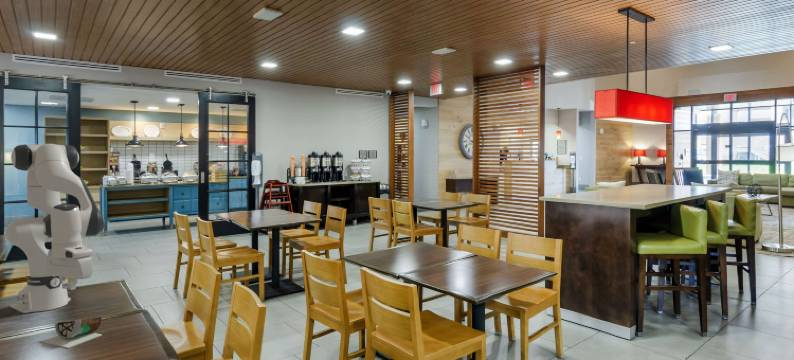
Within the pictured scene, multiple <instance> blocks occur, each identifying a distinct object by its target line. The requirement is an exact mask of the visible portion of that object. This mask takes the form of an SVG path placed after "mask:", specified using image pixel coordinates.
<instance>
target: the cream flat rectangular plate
mask: <svg viewBox="0 0 794 360" xmlns="http://www.w3.org/2000/svg"><path fill="white" fill-rule="evenodd" d="M102 336H103V334H102V333H101V334H100V333H97V332H89V333H84V334H80V335H76V336H75V337H73V338H71V339H69V338H62V337H60V336H59V335H58V334H57V335H56V336H52V337H49V338H47V339H44V340H41V343H45V344H49V345H53V346H57V347H61V348H66V349H70V348H74V347H76V346H78V345H80V344H83V343H87V342H88V341H91V340H94V339H98V338H99V337H102Z"/></svg>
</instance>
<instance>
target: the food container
mask: <svg viewBox="0 0 794 360" xmlns="http://www.w3.org/2000/svg"><path fill="white" fill-rule="evenodd" d="M101 323H102V316H96V317H95V316H94V317H89V318H79V319H73V320H71V319H70V320H65V321H63V320H62V321H57V322H54V329H55V331H56V334H57V336H58V335H59V336H60V337H62V338H69V339H71V338H73V337H75V336H76V335H80V334H84V333H89V332H92V333H94V332H96V331H97V330H98V329H99V327H100V325H101Z"/></svg>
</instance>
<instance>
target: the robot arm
mask: <svg viewBox="0 0 794 360" xmlns="http://www.w3.org/2000/svg"><path fill="white" fill-rule="evenodd" d="M10 159H11V160H10V161H11V163H12V165H13V167H14V168H15V169H17V170H20V171H22V172H23V171H25V172H27V176H26V201H27V204H28V205H29V206H30V207H32V208H34V209H37V210H40V211H42V212H43V216H41V217H31V218H30V217H29V218H23V219H18V220H15V221H12V222H10V223H9V224H8V225H7V226H6V228H5V238H6V240H7V241H8V242H9V243H10V244H11V245H13V246H16V247H18V248H19V249H20V250H22V251H23V253H24V254H25V255H26V257H27V262H28V269H29V275H28V276H27V277H26V280H27V282H26V285H25V286H24V287H23V288H22V289H21V290H20V291H19V292H18V293H17V296H16V302H14V303H12V304H10V308H11V309H14V310H16V311H18V312H20V313H22V314H27V313H33V312H44V311H51V310H55V309H58V308H62V307H64V306H66V305H68V303H69V302H70V301H71V297H69V296H68V290H71V291H73V290H76V289H77V283H78V282H79V280H86V279H89V278H91V277H92V275H93V273H94V271H93V269H94V268H93V258H92V257H91V256H92V255H93V249H92V248H90V247H88V246H86V245H85V244H84V243H83V237H96V236H97V235H99V234H100V233H101V232H102V231H103V230H104V228H105V218H104V216H103V214H102V212H101V211H100V208H98V205H97V204H96V202H95V200H94V197H93V195H92V194H91V192H90V189H89V187H88V185H87V183H86V182H85V180H84V179H83V177H81V176H78V175H77V174H75V173H74V172H73V171H72V170H73V169H75V168H76V167H78V163H79V161H80V155H79V152H78V149H77V148H76V147H75V146H73V145H69V144H64V145H63V144H55V143H45V144H44V143H41V144H40V143H39V144H19V145H17V146H15V147H14V148H13V150H12V152H11V154H10ZM61 193H64V194H66V195H69V196H73V197H74V198H76V199H77V200H78V203H79V205H80V207H81V209H82V210H80V208H79V206H78V205H77V204H73V203H62V201H61ZM46 243H51V248H50V249H48V248H46V246H45V244H46ZM68 278H69V280H68ZM69 281H70V282H69Z"/></svg>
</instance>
